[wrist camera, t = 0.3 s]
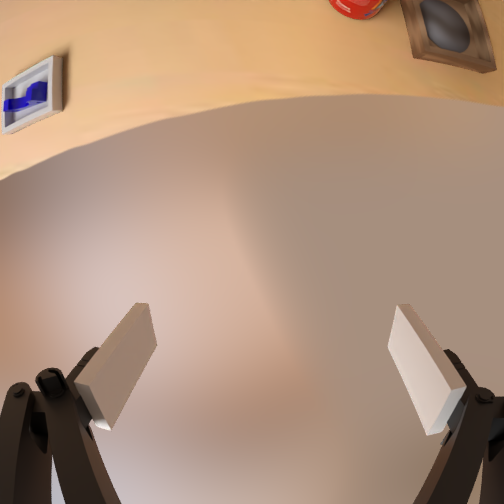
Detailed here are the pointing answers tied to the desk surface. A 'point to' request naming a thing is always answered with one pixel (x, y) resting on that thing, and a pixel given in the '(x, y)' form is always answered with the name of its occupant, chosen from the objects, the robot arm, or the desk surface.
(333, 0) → the soda can
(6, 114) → the grey desk tray
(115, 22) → the desk surface
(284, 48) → the desk surface
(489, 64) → the walnut box
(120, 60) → the desk surface
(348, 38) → the desk surface
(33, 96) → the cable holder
